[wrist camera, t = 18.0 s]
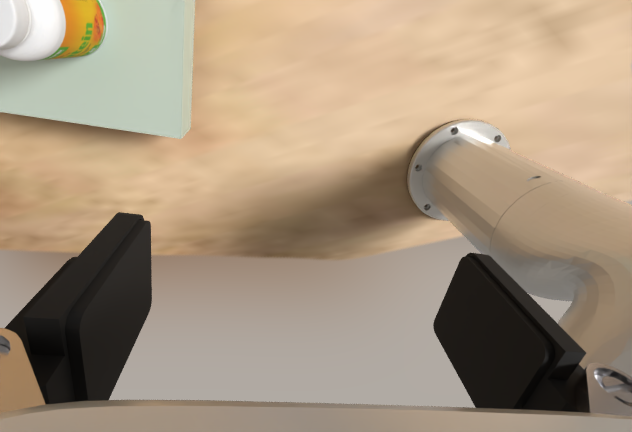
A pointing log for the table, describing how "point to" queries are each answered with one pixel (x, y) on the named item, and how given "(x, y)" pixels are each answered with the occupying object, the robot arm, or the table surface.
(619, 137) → the table surface
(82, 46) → the supplement bottle
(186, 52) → the lid
